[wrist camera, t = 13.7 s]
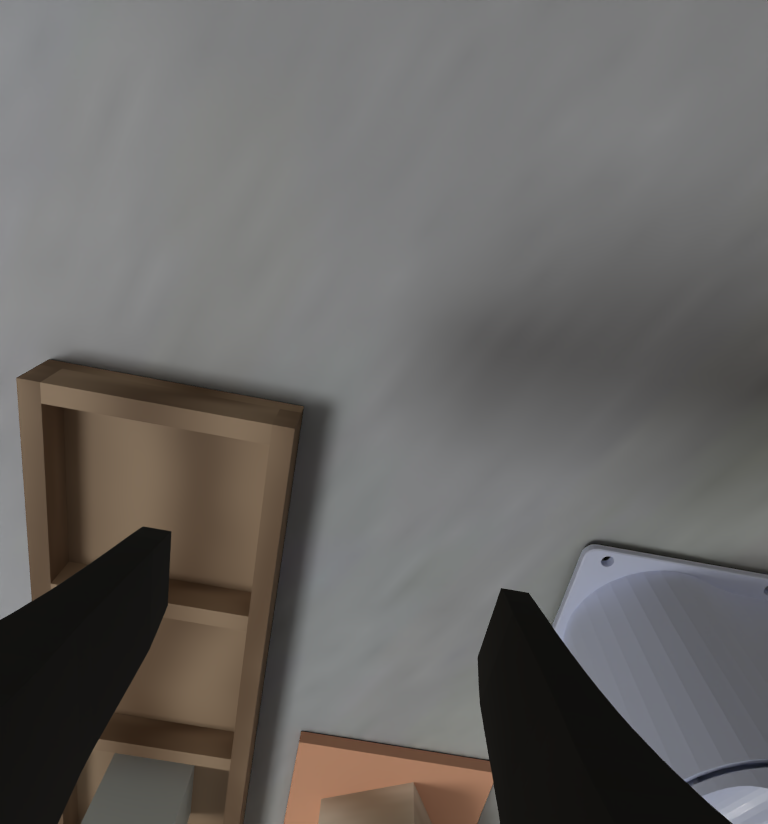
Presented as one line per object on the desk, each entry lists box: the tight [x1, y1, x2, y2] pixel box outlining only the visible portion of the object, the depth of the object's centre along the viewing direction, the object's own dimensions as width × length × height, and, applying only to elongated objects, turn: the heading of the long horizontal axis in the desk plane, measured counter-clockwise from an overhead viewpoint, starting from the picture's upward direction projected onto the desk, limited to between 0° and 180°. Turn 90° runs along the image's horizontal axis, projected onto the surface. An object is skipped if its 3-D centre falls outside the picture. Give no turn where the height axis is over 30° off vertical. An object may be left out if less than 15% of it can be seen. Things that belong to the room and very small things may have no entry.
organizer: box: [16, 359, 304, 824], centre depth 27 cm, size 10×27×2 cm, turn 169°
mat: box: [284, 731, 493, 824], centre depth 31 cm, size 10×10×1 cm
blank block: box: [81, 753, 195, 824], centre depth 29 cm, size 4×4×4 cm
